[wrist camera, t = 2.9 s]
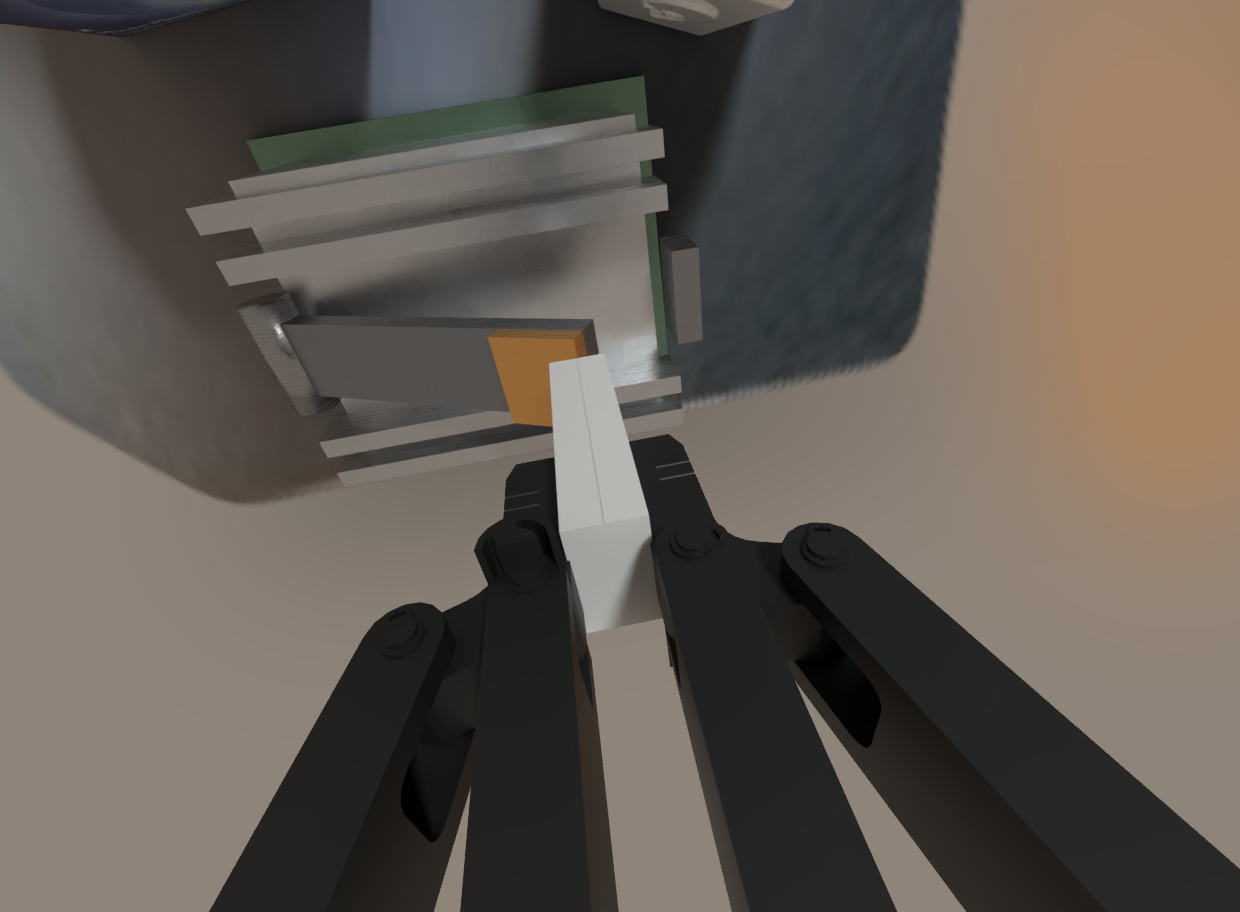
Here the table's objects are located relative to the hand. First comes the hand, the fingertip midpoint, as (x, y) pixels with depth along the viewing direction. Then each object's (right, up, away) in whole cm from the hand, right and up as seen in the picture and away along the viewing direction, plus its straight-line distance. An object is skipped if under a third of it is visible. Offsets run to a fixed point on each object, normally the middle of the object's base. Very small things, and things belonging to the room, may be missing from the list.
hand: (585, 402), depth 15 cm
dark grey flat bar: (-6, +2, +4) cm, 8 cm away
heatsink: (-6, +8, +12) cm, 16 cm away
